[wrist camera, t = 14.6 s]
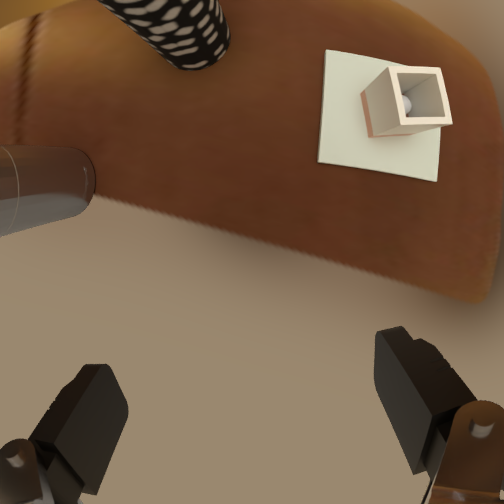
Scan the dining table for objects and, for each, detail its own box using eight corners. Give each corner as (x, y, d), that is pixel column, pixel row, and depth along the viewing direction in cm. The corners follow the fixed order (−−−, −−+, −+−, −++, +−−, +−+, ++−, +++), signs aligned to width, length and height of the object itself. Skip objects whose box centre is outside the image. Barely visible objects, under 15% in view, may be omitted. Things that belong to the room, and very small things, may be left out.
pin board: (316, 162, 34) (326, 159, 27) (324, 54, 31) (334, 27, 24) (431, 181, 33) (462, 184, 26) (435, 78, 30) (464, 62, 23)
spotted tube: (199, 83, 33) (122, 5, 14) (149, 51, 32) (55, -22, 13) (245, 31, 31) (212, -78, 12) (192, 3, 31) (130, -95, 11)
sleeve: (368, 137, 32) (400, 125, 22) (360, 93, 31) (388, 66, 21) (409, 135, 31) (452, 123, 21) (401, 92, 30) (440, 67, 20)
